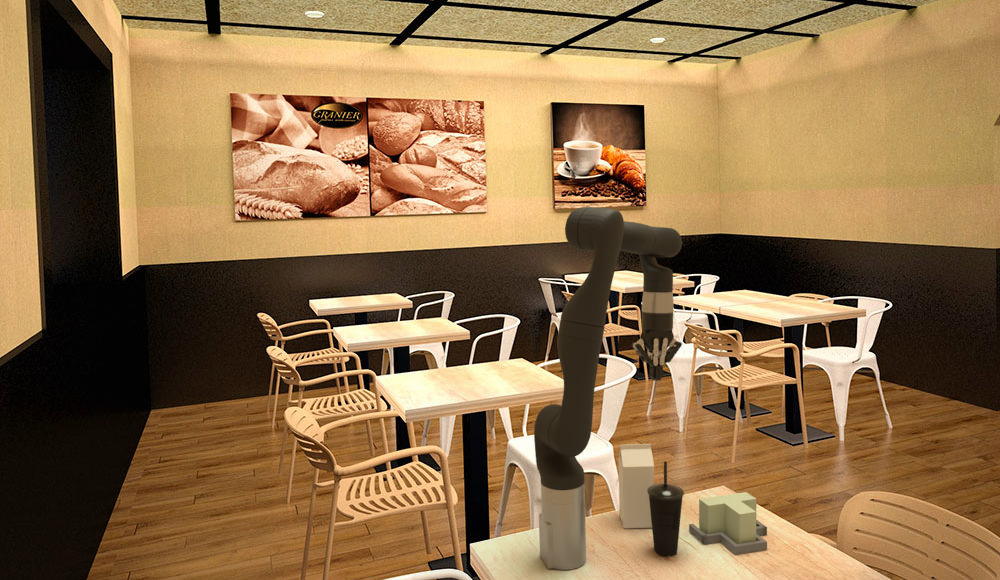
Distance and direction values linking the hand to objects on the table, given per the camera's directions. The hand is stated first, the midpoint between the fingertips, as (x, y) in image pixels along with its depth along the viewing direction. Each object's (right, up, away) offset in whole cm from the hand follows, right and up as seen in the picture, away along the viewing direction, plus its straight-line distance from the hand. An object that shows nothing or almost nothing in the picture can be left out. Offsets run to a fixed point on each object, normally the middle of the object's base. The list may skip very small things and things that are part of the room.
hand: (656, 379), depth 175 cm
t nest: (+14, -33, -17) cm, 40 cm away
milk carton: (-6, -33, -7) cm, 34 cm away
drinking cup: (-3, -35, -22) cm, 41 cm away
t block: (+14, -33, -17) cm, 40 cm away
